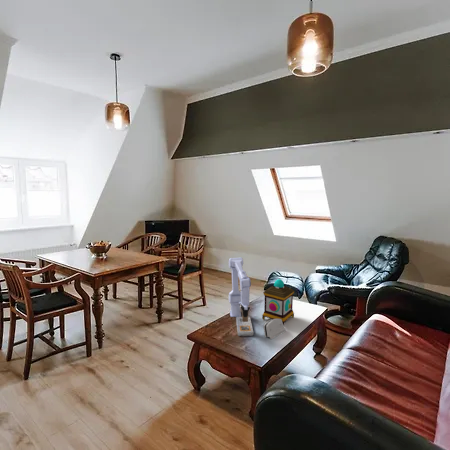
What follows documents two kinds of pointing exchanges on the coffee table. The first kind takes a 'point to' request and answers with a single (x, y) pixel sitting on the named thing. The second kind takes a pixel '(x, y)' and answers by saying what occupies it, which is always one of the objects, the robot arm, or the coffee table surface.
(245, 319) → the walnut peg
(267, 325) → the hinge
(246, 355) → the coffee table surface
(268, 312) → the decorative lantern
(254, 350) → the coffee table surface
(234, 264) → the robot arm
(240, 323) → the peg-in-hole board
